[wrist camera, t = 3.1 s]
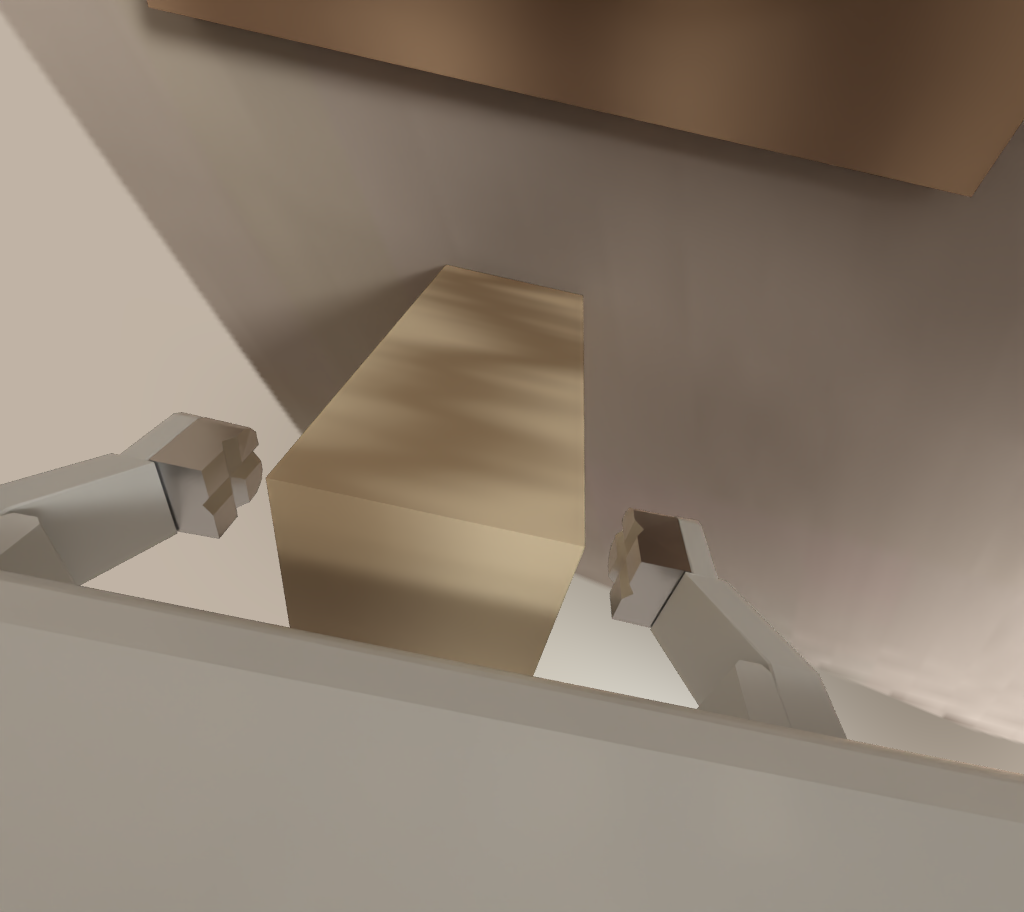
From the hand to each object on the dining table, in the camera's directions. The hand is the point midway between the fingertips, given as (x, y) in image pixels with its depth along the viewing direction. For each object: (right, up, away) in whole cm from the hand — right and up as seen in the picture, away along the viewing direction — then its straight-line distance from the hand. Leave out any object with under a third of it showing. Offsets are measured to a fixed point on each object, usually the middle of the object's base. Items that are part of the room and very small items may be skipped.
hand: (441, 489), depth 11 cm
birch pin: (+1, +5, +6) cm, 8 cm away
